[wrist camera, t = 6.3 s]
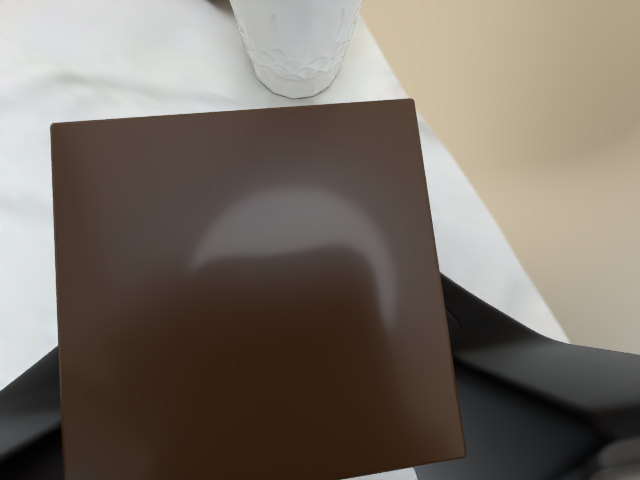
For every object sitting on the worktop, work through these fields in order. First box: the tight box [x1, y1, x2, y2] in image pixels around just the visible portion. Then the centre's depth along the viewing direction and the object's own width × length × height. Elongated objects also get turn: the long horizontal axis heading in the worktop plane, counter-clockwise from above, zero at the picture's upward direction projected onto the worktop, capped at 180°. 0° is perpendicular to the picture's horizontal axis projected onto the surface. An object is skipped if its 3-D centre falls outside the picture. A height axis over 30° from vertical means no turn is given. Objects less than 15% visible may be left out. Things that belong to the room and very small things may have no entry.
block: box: [50, 99, 467, 480], centre depth 10 cm, size 4×4×13 cm
